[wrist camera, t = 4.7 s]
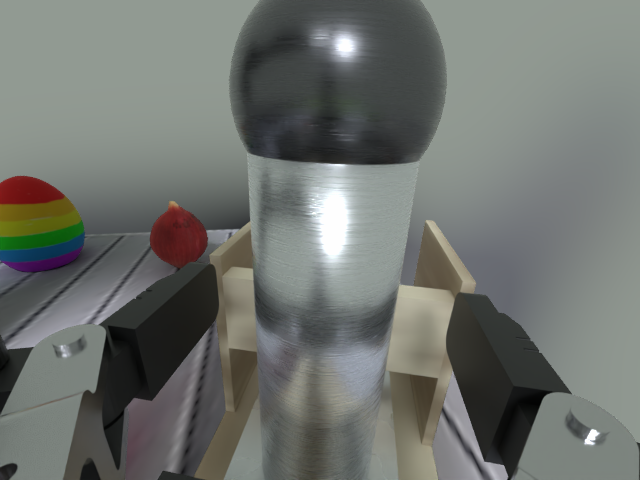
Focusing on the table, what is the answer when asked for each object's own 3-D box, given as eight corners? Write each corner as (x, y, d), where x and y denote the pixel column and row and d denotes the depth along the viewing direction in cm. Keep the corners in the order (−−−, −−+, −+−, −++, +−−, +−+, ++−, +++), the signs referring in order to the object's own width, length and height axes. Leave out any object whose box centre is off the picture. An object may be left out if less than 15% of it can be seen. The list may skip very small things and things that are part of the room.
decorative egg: (-17, 284, 30) (-61, 185, 26) (15, 253, 36) (-16, 171, 33) (83, 270, 33) (58, 181, 29) (96, 244, 40) (76, 169, 36)
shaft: (215, 535, 10) (111, -104, 4) (299, 308, 22) (303, 67, 16) (397, 577, 9) (593, -132, 3) (380, 318, 21) (415, 70, 16)
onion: (216, 258, 37) (210, 196, 34) (200, 280, 32) (192, 209, 29) (169, 257, 37) (159, 194, 34) (146, 279, 32) (131, 207, 29)
